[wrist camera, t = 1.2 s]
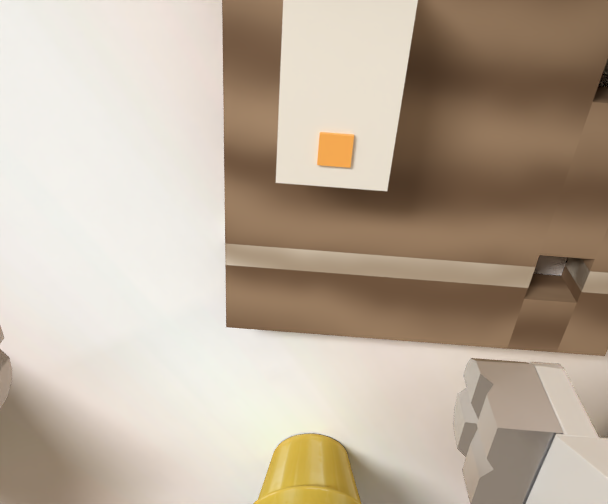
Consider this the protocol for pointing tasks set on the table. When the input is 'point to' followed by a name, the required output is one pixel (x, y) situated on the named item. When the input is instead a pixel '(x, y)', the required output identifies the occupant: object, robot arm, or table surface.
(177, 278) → the table surface
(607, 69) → the green bottle
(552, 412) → the robot arm
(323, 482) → the plant pot
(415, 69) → the subfloor panel
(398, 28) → the block
